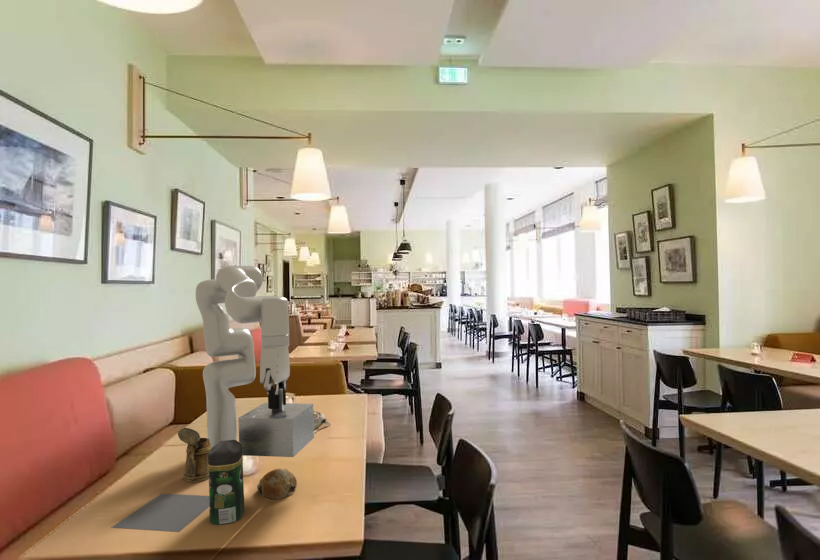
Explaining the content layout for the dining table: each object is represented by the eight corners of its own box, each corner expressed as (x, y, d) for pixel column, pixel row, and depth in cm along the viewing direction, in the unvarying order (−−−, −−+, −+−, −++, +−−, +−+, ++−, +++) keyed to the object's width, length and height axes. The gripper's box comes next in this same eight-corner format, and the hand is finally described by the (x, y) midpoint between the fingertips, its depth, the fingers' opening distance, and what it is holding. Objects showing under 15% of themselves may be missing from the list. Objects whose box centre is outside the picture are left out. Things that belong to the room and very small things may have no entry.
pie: (294, 442, 174) (294, 429, 174) (245, 432, 188) (244, 420, 188) (343, 422, 197) (343, 410, 197) (296, 414, 212) (295, 403, 212)
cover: (239, 455, 126) (237, 395, 126) (265, 436, 141) (263, 382, 141) (293, 457, 124) (291, 396, 124) (314, 437, 139) (312, 383, 139)
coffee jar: (214, 510, 123) (212, 438, 123) (246, 506, 124) (244, 436, 124) (205, 529, 113) (203, 452, 113) (240, 525, 115) (238, 449, 115)
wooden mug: (170, 491, 134) (168, 428, 134) (191, 472, 148) (189, 414, 148) (201, 490, 134) (200, 427, 134) (219, 471, 148) (218, 413, 148)
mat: (111, 529, 114) (111, 527, 114) (161, 495, 132) (161, 493, 132) (179, 534, 111) (179, 531, 111) (221, 498, 129) (221, 496, 129)
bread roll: (279, 514, 127) (290, 488, 126) (247, 495, 129) (258, 470, 128) (295, 497, 137) (306, 473, 136) (266, 480, 139) (276, 456, 138)
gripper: (275, 337, 141) (277, 399, 141) (248, 345, 125) (250, 415, 125) (299, 337, 140) (301, 399, 140) (275, 345, 124) (277, 415, 124)
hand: (277, 406), depth 133 cm, fingers closed on cover, 3 cm apart
